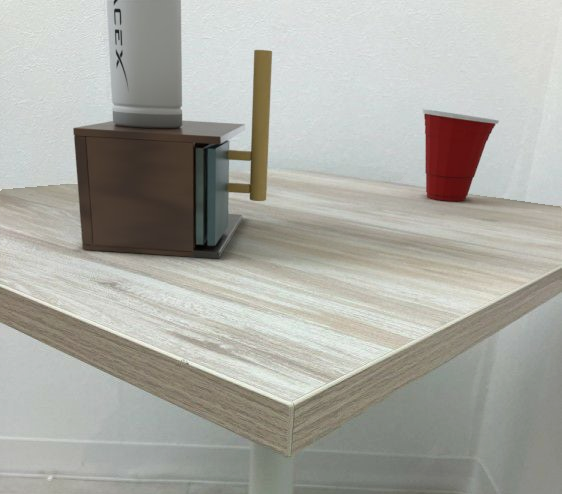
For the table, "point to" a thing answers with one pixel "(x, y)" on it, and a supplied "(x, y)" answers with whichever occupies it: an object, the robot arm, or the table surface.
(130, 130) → the brown wooden cabinet
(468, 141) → the plastic cup
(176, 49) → the travel mug
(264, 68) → the glass door
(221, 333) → the table surface
